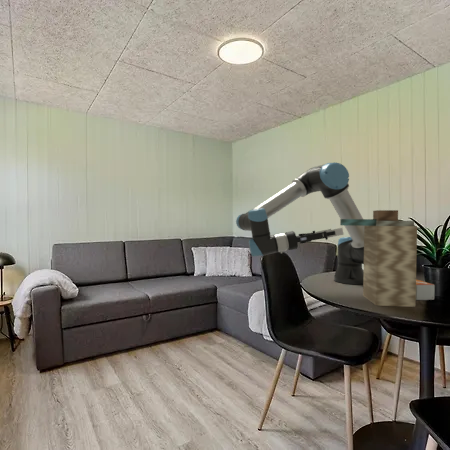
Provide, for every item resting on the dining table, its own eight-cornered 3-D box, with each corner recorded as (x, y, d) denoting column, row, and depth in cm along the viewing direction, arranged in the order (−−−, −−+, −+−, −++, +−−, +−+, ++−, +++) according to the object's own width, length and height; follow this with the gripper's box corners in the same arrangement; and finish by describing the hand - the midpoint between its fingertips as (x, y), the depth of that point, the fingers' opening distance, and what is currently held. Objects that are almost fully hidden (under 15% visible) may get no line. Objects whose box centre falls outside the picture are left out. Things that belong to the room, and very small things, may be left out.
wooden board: (376, 305, 114) (377, 220, 113) (363, 295, 128) (364, 220, 127) (415, 306, 112) (417, 221, 111) (398, 296, 126) (399, 220, 125)
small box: (411, 277, 135) (435, 284, 122) (411, 291, 135) (434, 300, 122) (394, 278, 134) (416, 284, 121) (394, 292, 134) (416, 300, 121)
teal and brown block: (342, 225, 119) (342, 210, 119) (339, 225, 126) (339, 210, 126) (397, 226, 115) (398, 210, 115) (391, 225, 122) (391, 210, 122)
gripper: (283, 249, 137) (328, 240, 137) (294, 251, 113) (350, 240, 112) (279, 233, 138) (325, 224, 138) (290, 232, 113) (346, 220, 113)
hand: (336, 231), depth 125 cm, fingers open, 13 cm apart
